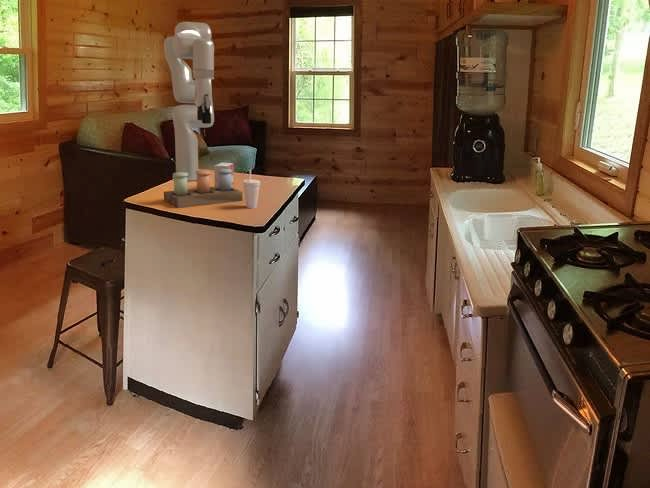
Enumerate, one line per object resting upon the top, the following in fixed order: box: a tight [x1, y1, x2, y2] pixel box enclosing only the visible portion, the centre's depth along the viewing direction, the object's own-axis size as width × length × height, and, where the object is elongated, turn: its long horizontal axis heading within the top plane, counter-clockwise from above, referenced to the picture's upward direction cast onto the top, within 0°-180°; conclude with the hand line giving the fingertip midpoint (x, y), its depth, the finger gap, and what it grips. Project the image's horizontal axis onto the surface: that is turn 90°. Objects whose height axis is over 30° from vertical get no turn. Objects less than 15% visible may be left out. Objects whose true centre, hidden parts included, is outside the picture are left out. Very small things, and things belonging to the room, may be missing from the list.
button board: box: [163, 186, 243, 209], centre depth 235 cm, size 13×26×3 cm, turn 127°
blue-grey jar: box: [218, 169, 232, 191], centre depth 239 cm, size 5×5×8 cm
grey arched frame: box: [213, 162, 235, 189], centre depth 254 cm, size 8×6×10 cm
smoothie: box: [242, 168, 261, 209], centre depth 227 cm, size 6×6×14 cm
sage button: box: [172, 171, 189, 196], centre depth 228 cm, size 5×5×8 cm
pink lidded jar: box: [196, 170, 212, 194], centre depth 233 cm, size 5×5×8 cm
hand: (204, 121), depth 234 cm, fingers open, 9 cm apart
